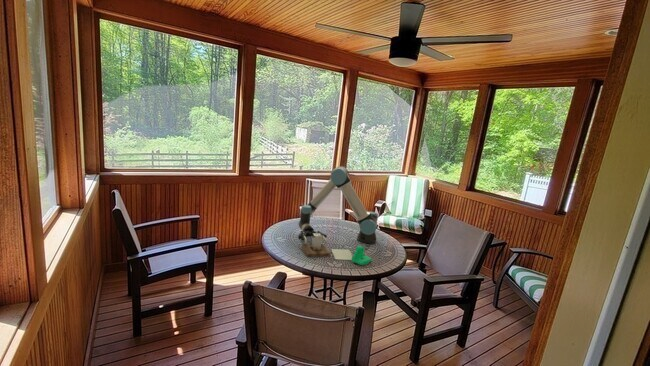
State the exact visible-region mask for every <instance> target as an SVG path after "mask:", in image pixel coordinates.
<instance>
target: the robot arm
mask: <svg viewBox="0 0 650 366" xmlns="http://www.w3.org/2000/svg"><path fill="white" fill-rule="evenodd" d="M336 188H337V189H338V190H340V191H341V192H342V194H343V196H344V197H345V199H346V201H347V203H348V204H349V207H350V208H351V209H352V211H353V213H354V215H355V216H356V223H357V224H358V226H359V232H358V234H357V237H356V239H357V241H358V242H361V243H364V244H370V245H371V244H376V243H377V240H378V239H377V233H376V230H377V227H378V225H377V224H378V218H379V217H378V216H379V214H378V213H377V212H374V211H369V210H367V209H366V207H365V205H364V203H363V202H362V201H361V199H360V197H359V195H358V194H357V192H356V190H355V189H354V186H353V185H352V179H351V177H350V176H349V170H348V169H347V168H346V167H345V166H342V165H339V166H337V167H335V168H333V169H332V170H331V173H330V179H329V180H328V181H327V182H326V183H325V184H324V185H323V187H322V188H320V190H319V191H318V193H316V194H315V196H314V197H313V198H312V199H311V201H310V202H308V204H304V205H302V206H301V209H300V219H299V222H298V227H299V229H300V230H301V231H300V233H299V234H298V239H299V240H301V241H303V242H304V244H308V239H307V238H309V237H313V233H320V234H321V235H322V242H323V243H324V244H326V243H327V237H328V236H327V234H326V233H323V232H321V231H320V230H317V231H315V229H314V228H313V226H312V225H311V224H310V223H311V217H312V216H311V215H313V214H314V212H315V211H316V210H317V209H318V208H319V207H320V206H321V205H322V203H323V202H324V201H326V199H327V198H328V197H329V196H330V195H331V193H332V192H333V191H334V190H335V189H336Z"/></svg>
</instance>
